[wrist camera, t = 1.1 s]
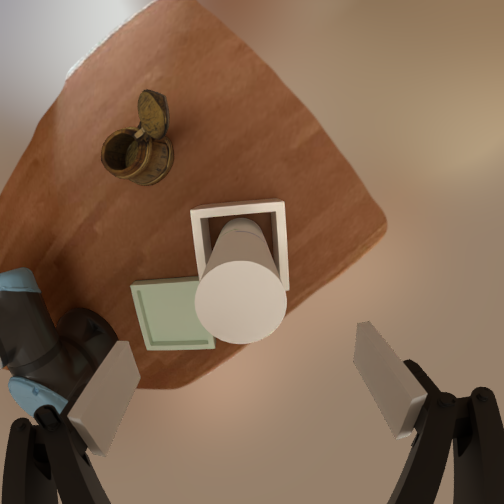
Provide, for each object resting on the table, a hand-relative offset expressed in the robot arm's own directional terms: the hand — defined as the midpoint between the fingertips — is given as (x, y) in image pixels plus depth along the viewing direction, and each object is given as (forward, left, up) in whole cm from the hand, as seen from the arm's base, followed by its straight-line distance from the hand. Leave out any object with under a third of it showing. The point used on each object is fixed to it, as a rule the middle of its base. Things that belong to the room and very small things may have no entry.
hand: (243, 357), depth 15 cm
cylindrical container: (0, 0, -32) cm, 32 cm away
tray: (-13, -12, -32) cm, 37 cm away
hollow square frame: (0, 0, -32) cm, 32 cm away
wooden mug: (-12, +16, -32) cm, 38 cm away
